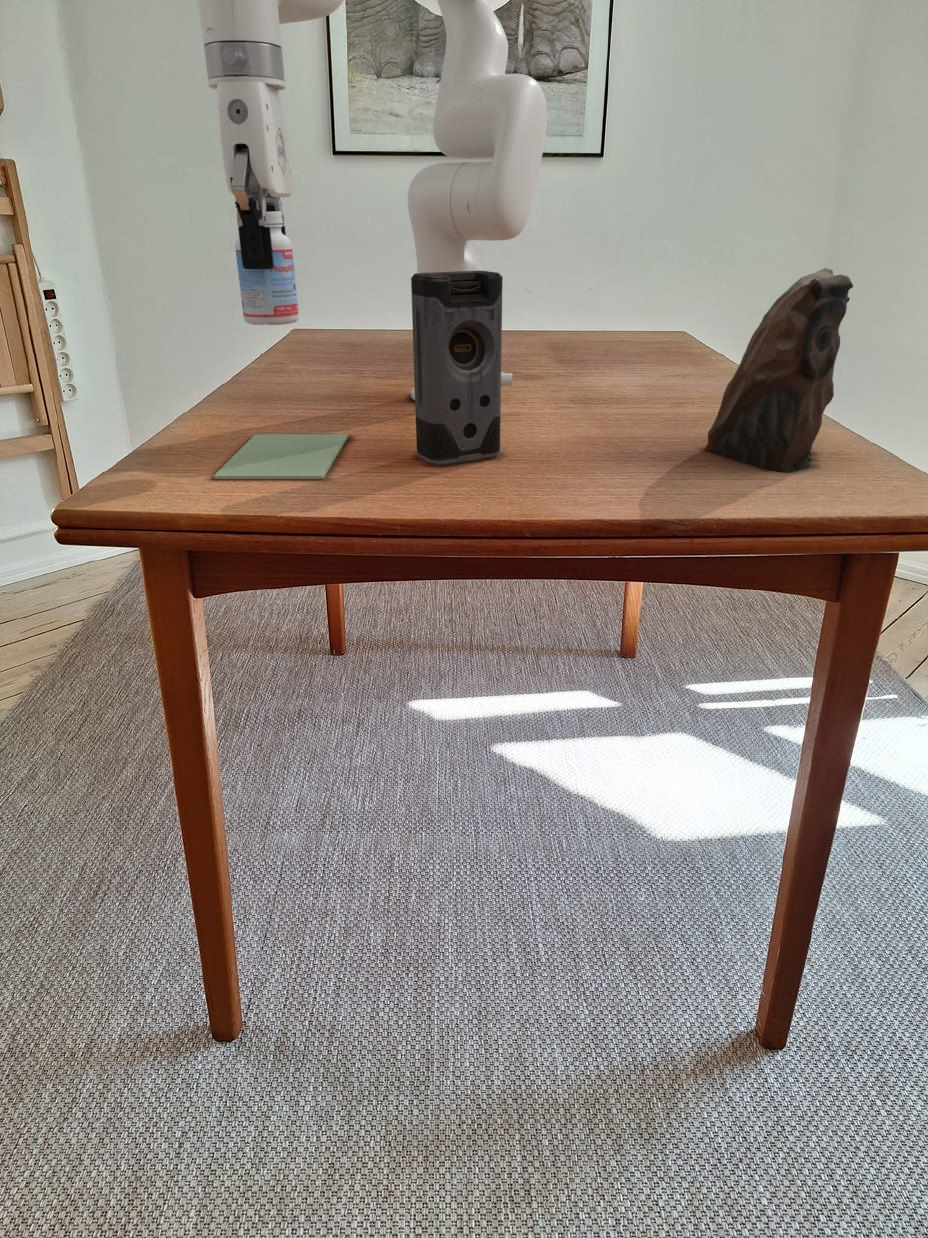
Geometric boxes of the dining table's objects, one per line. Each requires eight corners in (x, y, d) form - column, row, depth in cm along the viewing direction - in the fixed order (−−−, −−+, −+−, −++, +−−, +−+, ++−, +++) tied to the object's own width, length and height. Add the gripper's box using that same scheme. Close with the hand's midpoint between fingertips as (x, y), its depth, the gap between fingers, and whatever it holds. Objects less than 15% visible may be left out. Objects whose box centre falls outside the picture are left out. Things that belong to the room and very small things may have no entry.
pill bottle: (286, 326, 89) (275, 211, 83) (235, 325, 90) (220, 211, 85) (307, 319, 94) (297, 210, 89) (258, 318, 95) (245, 211, 90)
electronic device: (433, 468, 92) (429, 276, 83) (412, 455, 96) (405, 273, 87) (505, 457, 95) (508, 273, 86) (481, 445, 100) (481, 269, 91)
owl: (789, 439, 102) (820, 265, 92) (861, 467, 91) (903, 273, 82) (700, 448, 98) (723, 269, 89) (763, 478, 88) (796, 277, 78)
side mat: (348, 437, 104) (347, 434, 104) (323, 479, 88) (322, 475, 88) (255, 437, 105) (255, 434, 104) (213, 479, 89) (213, 475, 88)
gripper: (261, 55, 73) (282, 272, 81) (300, 81, 89) (315, 261, 97) (178, 56, 73) (208, 272, 82) (232, 82, 89) (253, 262, 97)
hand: (266, 264), depth 89 cm, fingers closed on pill bottle, 6 cm apart
